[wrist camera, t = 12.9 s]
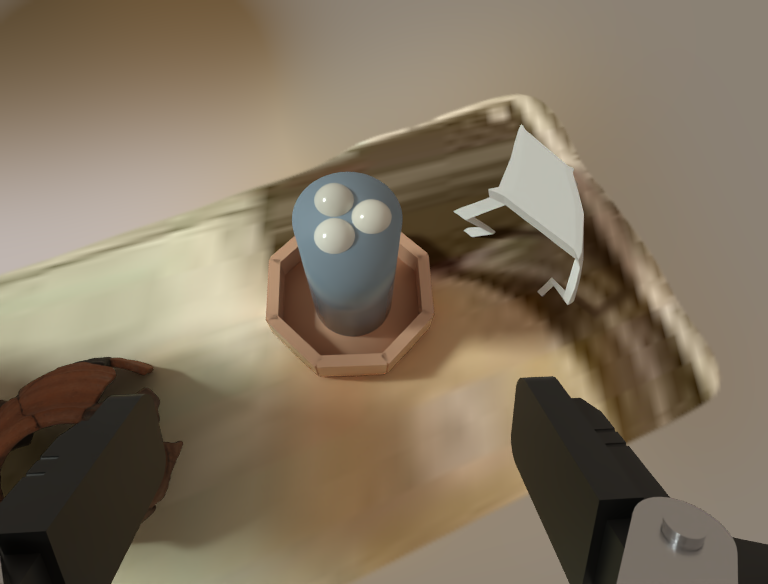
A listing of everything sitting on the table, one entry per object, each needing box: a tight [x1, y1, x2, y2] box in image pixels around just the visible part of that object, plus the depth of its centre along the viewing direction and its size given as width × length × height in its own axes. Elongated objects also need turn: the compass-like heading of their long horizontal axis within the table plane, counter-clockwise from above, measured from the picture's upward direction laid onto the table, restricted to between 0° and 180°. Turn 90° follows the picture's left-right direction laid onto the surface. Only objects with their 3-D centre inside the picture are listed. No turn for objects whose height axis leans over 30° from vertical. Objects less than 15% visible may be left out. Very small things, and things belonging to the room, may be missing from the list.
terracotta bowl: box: [266, 232, 434, 377], centre depth 30 cm, size 10×10×2 cm
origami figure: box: [454, 124, 584, 305], centre depth 32 cm, size 12×8×5 cm
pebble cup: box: [292, 172, 402, 337], centre depth 26 cm, size 5×5×11 cm
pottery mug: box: [0, 357, 183, 523], centre depth 25 cm, size 12×10×8 cm
